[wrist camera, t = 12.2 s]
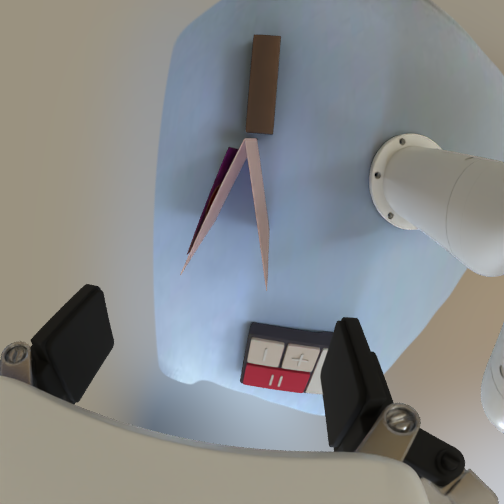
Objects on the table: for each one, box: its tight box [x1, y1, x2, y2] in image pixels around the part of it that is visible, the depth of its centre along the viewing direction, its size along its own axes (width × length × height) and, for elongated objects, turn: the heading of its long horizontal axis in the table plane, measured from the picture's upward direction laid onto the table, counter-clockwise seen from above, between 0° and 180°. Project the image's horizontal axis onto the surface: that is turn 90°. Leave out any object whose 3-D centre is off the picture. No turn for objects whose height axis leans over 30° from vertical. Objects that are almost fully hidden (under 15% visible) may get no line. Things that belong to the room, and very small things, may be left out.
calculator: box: [240, 322, 333, 394], centre depth 42 cm, size 11×4×15 cm
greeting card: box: [180, 138, 269, 291], centre depth 27 cm, size 11×7×15 cm, turn 153°
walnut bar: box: [246, 35, 281, 135], centre depth 28 cm, size 3×12×2 cm, turn 176°
